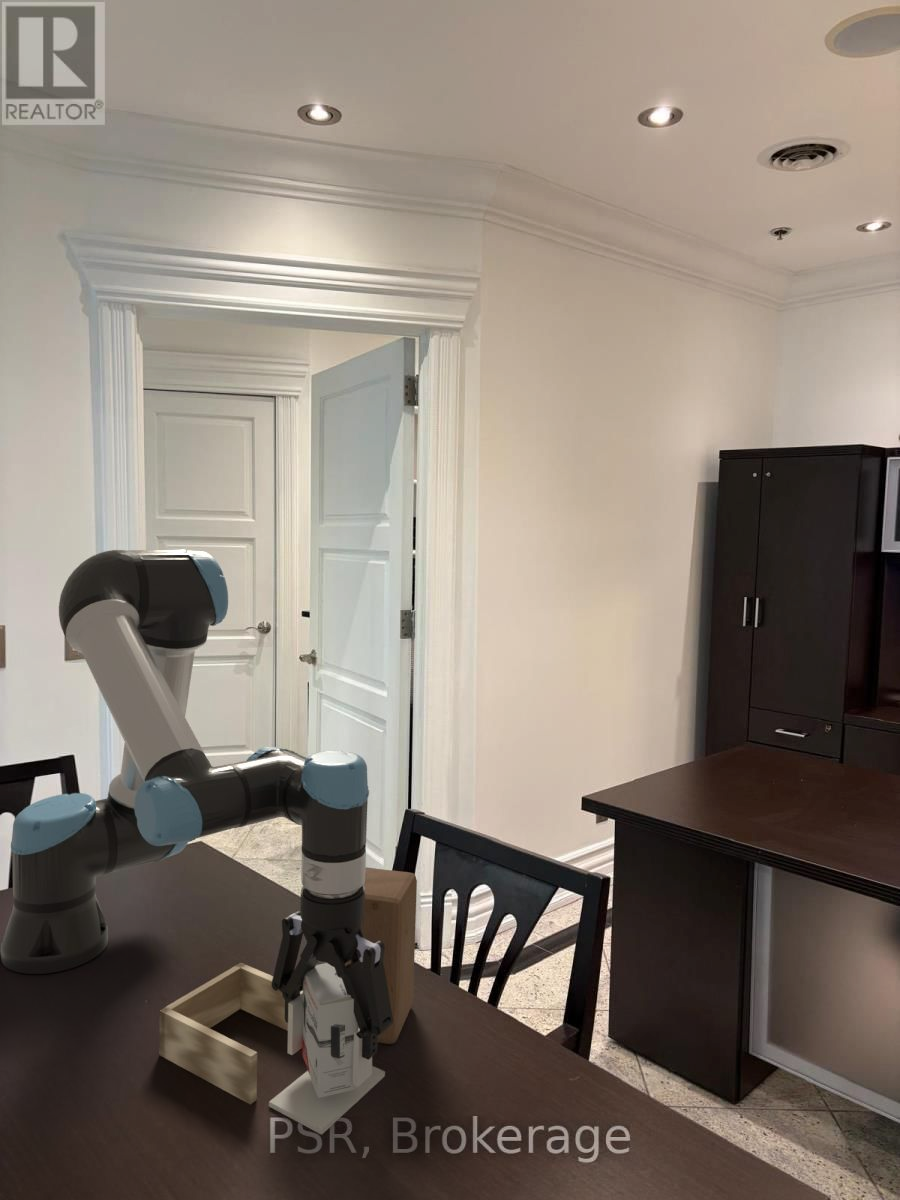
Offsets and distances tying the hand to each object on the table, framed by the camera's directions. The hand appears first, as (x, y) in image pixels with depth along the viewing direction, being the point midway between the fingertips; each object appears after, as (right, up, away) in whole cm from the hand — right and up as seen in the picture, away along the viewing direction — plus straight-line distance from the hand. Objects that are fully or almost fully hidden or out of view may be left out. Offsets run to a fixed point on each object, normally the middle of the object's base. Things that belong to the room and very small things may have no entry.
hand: (328, 1063), depth 101 cm
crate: (-12, -2, +8) cm, 14 cm away
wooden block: (+4, -2, +15) cm, 15 cm away
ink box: (0, -1, 0) cm, 1 cm away
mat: (0, -3, 0) cm, 3 cm away
